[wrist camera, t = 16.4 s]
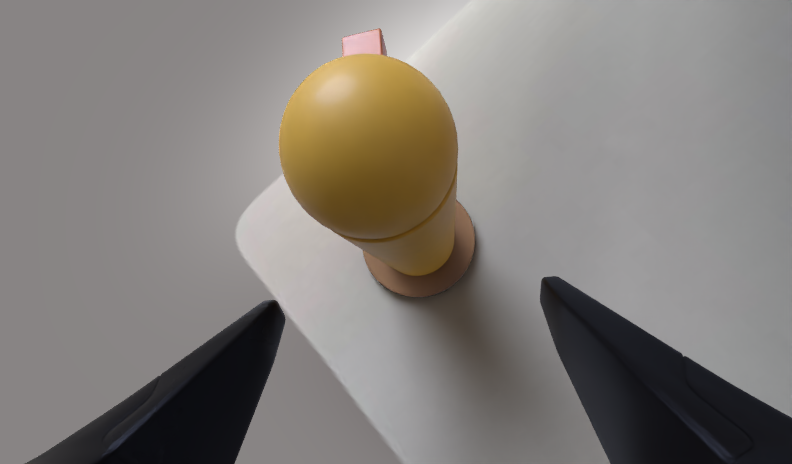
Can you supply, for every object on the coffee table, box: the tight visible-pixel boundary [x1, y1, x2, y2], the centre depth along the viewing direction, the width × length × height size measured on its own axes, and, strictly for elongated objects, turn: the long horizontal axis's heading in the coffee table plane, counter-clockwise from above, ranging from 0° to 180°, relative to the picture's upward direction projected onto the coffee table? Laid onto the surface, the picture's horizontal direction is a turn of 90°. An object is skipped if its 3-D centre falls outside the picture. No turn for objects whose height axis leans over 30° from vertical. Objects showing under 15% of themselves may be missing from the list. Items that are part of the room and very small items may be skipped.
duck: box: [279, 29, 458, 276], centre depth 12 cm, size 6×5×12 cm
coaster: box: [363, 200, 475, 297], centre depth 18 cm, size 7×7×1 cm
